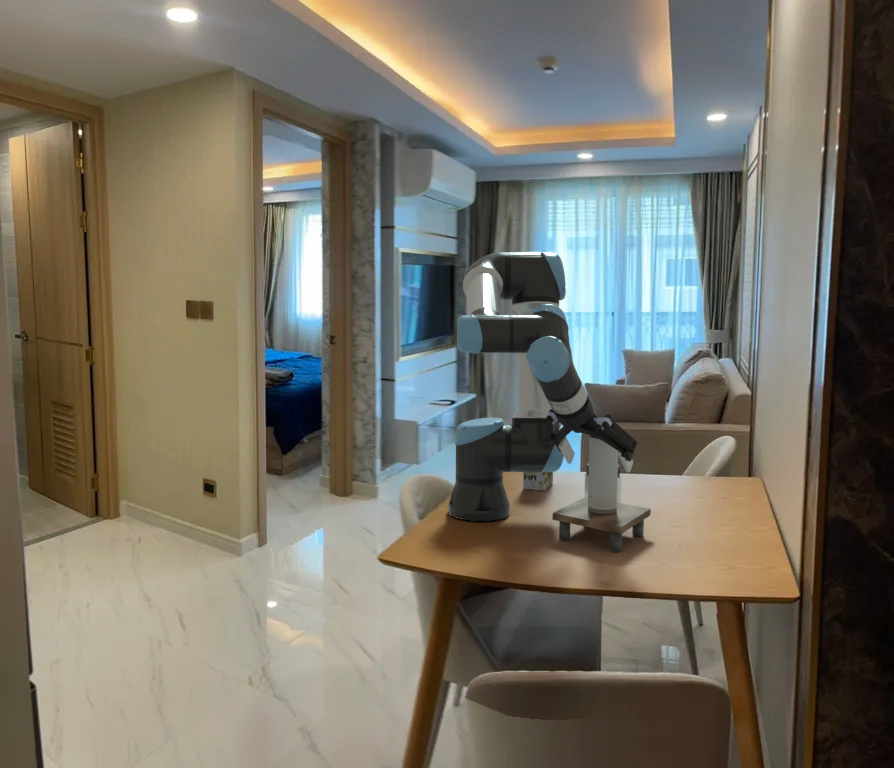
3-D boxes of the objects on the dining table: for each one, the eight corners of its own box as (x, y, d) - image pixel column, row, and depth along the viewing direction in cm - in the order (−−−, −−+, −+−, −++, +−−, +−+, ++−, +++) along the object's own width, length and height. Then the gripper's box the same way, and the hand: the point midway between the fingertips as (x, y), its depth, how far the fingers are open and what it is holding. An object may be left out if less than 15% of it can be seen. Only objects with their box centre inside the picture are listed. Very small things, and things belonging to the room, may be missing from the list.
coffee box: (544, 491, 198) (545, 434, 196) (522, 489, 200) (523, 432, 198) (553, 483, 206) (554, 428, 204) (531, 481, 209) (532, 427, 207)
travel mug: (581, 511, 159) (583, 422, 157) (597, 505, 164) (599, 418, 162) (606, 517, 155) (608, 425, 152) (622, 510, 160) (624, 421, 157)
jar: (601, 519, 173) (602, 470, 171) (577, 511, 180) (578, 464, 178) (627, 513, 178) (628, 465, 176) (603, 505, 185) (604, 459, 183)
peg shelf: (552, 539, 159) (552, 513, 158) (584, 521, 171) (585, 497, 170) (620, 554, 149) (621, 526, 148) (649, 534, 162) (650, 508, 161)
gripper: (508, 410, 148) (542, 469, 161) (623, 422, 133) (650, 485, 146) (521, 382, 151) (554, 442, 165) (635, 391, 136) (661, 455, 150)
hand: (600, 462), depth 156 cm, fingers open, 13 cm apart
